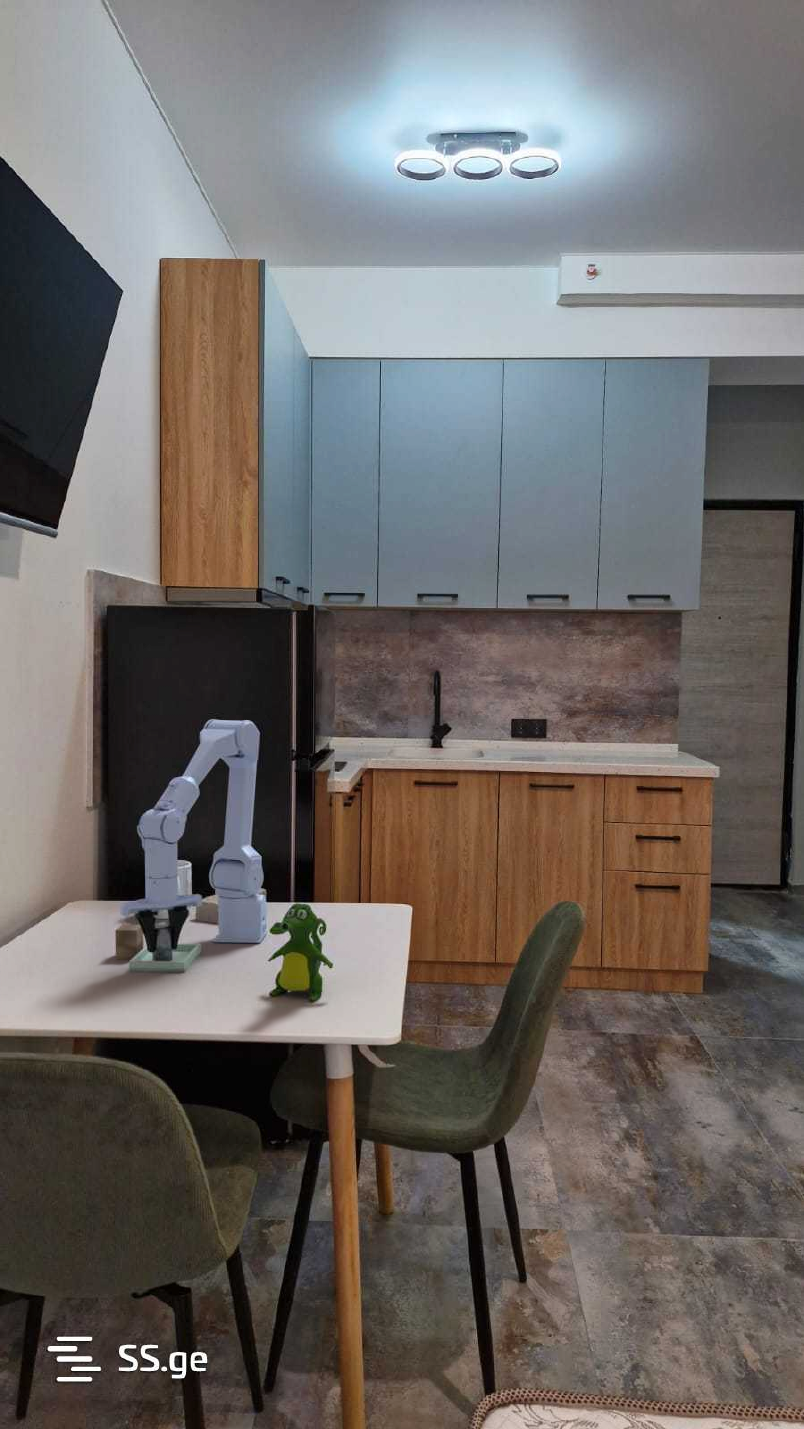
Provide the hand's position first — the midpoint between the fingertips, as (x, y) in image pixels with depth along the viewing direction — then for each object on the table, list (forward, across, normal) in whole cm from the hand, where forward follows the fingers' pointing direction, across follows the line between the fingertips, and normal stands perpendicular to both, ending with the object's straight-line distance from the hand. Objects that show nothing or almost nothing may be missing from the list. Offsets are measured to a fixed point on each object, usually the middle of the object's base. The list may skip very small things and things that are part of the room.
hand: (162, 949), depth 183 cm
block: (+3, +3, -10) cm, 10 cm away
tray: (+3, -2, -2) cm, 4 cm away
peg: (+2, 0, 0) cm, 2 cm away
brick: (+4, -26, -31) cm, 40 cm away
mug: (+3, -13, -36) cm, 39 cm away
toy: (+3, -15, +26) cm, 31 cm away
